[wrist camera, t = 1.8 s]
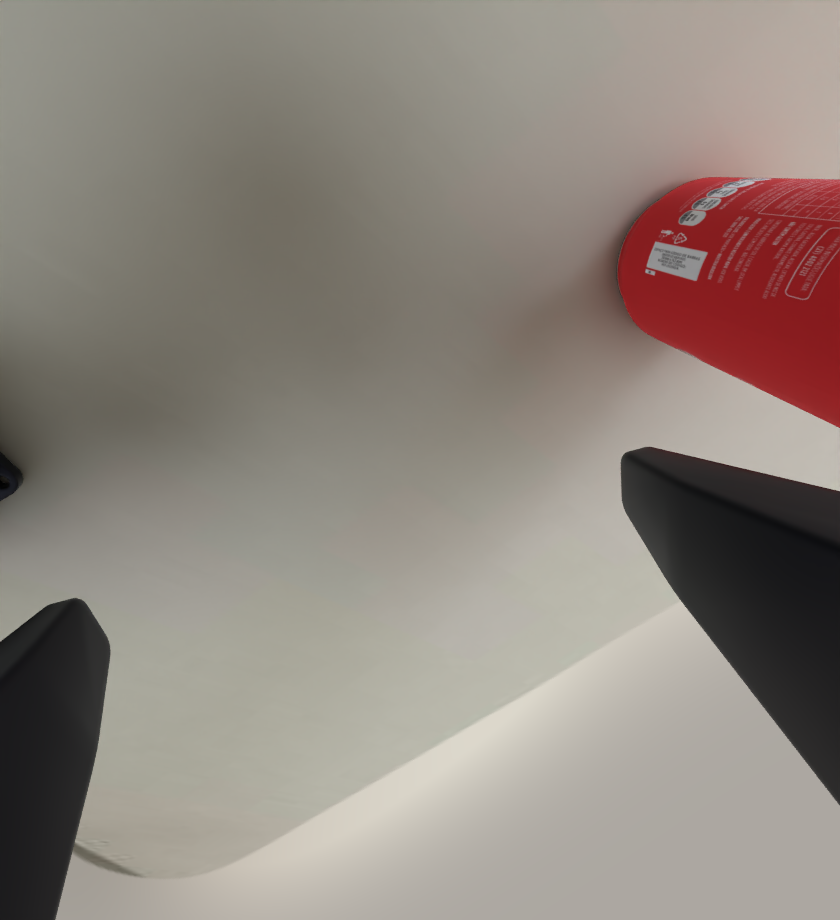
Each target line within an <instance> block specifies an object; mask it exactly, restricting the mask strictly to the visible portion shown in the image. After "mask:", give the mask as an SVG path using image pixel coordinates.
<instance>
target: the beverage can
mask: <svg viewBox="0 0 840 920" xmlns="http://www.w3.org/2000/svg"><path fill="white" fill-rule="evenodd" d="M617 282H618V287H619V291H620V294H621V296H622V299H623V301H624V303H625V306H626V308H627V311H628V313H629V315H630V316H631V318H632V319H633V321H634V322H635V323H636V325H637V326H638V327H639V328H640V329H641V330H643V331H644V332H645V333H647V334H648V335H650V336H652V337H654V338H656V339H658V340H660V341H662V342H664V343H666V344H668V345H670V346H672V347H674V348H676V349H678V350H680V351H682V352H685V353H687V354H689V355H691V356H693V357H695V358H697V359H699V360H701V361H703V362H705V363H707V364H709V365H711V366H713V367H715V368H717V369H720V370H722V371H724V372H726V373H728V374H730V375H732V376H734V377H736V378H738V379H740V380H742V381H744V382H746V383H748V384H750V385H752V386H755V387H757V388H759V389H761V390H763V391H765V392H767V393H769V394H771V395H773V396H775V397H777V398H779V399H781V400H783V401H785V402H788V403H790V404H792V405H794V406H796V407H798V408H800V409H802V410H804V411H806V412H808V413H810V414H812V415H814V416H816V417H818V418H820V419H823V420H825V421H827V422H829V423H831V424H833V425H835V426H837V427H839V428H840V180H830V179H780V178H730V177H709V178H702V179H697V180H694V181H690V182H688V183H685V184H683V185H681V186H679V187H677V188H675V189H674V190H672V191H671V192H669V193H668V194H666V195H665V196H664V197H662V198H661V199H659V200H657V201H656V202H654V203H653V204H652V205H650V206H649V207H648V208H647V209H646V210H644V211H643V212H642V213H641V214H640V216H639V217H638V218H637V219H636V220H635V222H634V223H633V224H632V226H631V227H630V229H629V231H628V233H627V234H626V236H625V238H624V241H623V243H622V246H621V249H620V252H619V256H618V262H617Z"/></svg>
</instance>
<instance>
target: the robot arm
mask: <svg viewBox="0 0 840 920" xmlns="http://www.w3.org/2000/svg"><path fill="white" fill-rule="evenodd" d="M0 476H4V477H6V478H7V479H8V480H9V482H10V483H4V482H2V481H0V501H1V500H3V499H4V498H6V497H8V496H9V495H11V494H13V493H14V492H15V491H16V490H17V489H18V488H19V487H20V486H21V485H22V482H23V475H22V473H21V472H20V470H19V469H18V468H17V467H16V466H15V465H14V464H13V463H11V462H10V461H9V460H8V459H7V458H6V457H5V456H4V455H3V454H2V453H1V452H0ZM621 489H622V503H623V506H624V509H625V512H626V514H627V515H628V517H629V519H630V520H631V522H632V524H633V525H634V527H635V529H636V530H637V532H638V534H639V535H640V537H641V539H642V540H643V542H644V544H645V545H646V547H647V548H648V550H649V552H650V553H651V555H652V557H653V558H654V560H655V562H656V563H657V565H658V567H659V568H660V570H661V572H662V573H663V575H664V577H665V578H666V580H667V581H668V583H669V584H670V586H671V587H672V589H673V590H674V592H675V593H676V594H677V596H678V597H679V599H680V600H681V601H682V603H683V604H684V605H685V607H686V608H687V609H688V610H689V612H690V613H691V614H692V615H693V617H694V618H695V619H696V621H697V622H698V623H699V625H700V626H701V627H702V628H703V629H704V631H705V632H706V633H707V635H708V636H709V637H710V639H711V640H712V641H713V642H714V644H715V645H716V646H717V648H718V649H719V650H720V652H721V653H722V654H723V655H724V657H725V658H726V659H727V661H728V662H729V663H730V664H731V666H732V667H733V668H734V669H735V671H736V672H737V673H738V675H739V676H740V677H741V679H742V680H743V681H744V682H745V684H746V685H747V686H748V688H749V689H750V690H751V692H752V693H753V694H754V695H755V697H756V698H757V699H758V701H759V702H760V703H761V704H762V706H763V707H764V708H765V710H766V711H767V712H768V713H769V715H770V716H771V717H772V719H773V720H774V721H775V722H776V724H777V725H778V726H779V728H780V729H781V730H782V732H783V733H784V734H785V735H786V737H787V738H788V739H789V741H790V742H791V743H792V744H793V746H794V747H795V748H796V750H798V752H799V753H800V755H801V756H802V757H803V758H804V760H805V761H806V762H807V764H808V765H809V766H810V768H811V769H812V770H813V771H814V773H815V774H816V775H817V777H818V778H819V779H820V781H821V782H822V783H823V784H824V786H825V787H826V788H827V790H828V791H829V792H830V793H831V795H832V796H833V797H834V799H835V800H836V801H837V802H838V804H839V805H840V491H836V490H832V489H827V488H823V487H819V486H815V485H810V484H806V483H802V482H798V481H793V480H789V479H785V478H781V477H776V476H772V475H768V474H764V473H759V472H755V471H751V470H747V469H742V468H738V467H734V466H730V465H725V464H721V463H717V462H713V461H708V460H704V459H700V458H696V457H691V456H687V455H683V454H679V453H675V452H670V451H666V450H662V449H658V448H653V447H644V448H640V449H637V450H633V451H629V452H626V453H625V454H624V455H623V456H622V459H621ZM109 661H110V644H109V641H108V638H107V636H106V634H105V633H104V631H103V630H102V628H101V626H100V625H99V623H98V622H97V620H96V618H95V617H94V615H93V614H92V612H91V610H90V609H89V607H88V606H87V604H86V603H85V602H84V601H83V600H81V599H78V598H73V599H68V600H65V601H61V602H57V603H53V604H50V605H48V606H46V607H45V608H43V609H42V610H41V611H39V612H38V613H37V614H36V615H34V616H33V617H32V618H30V619H29V620H28V621H27V622H25V623H24V624H23V625H21V626H20V627H19V628H18V629H16V630H15V631H14V632H12V633H11V634H10V635H9V636H7V637H6V638H5V639H3V640H2V641H1V642H0V920H55V919H56V915H57V911H58V907H59V902H60V899H61V894H62V890H63V887H64V883H65V878H66V875H67V871H68V866H69V862H70V859H71V855H72V851H73V847H74V843H75V839H76V835H77V831H78V827H79V823H80V819H81V815H82V811H83V807H84V803H85V799H86V795H87V791H88V787H89V783H90V779H91V775H92V770H93V766H94V761H95V757H96V752H97V747H98V741H99V735H100V727H101V720H102V713H103V705H104V698H105V690H106V683H107V676H108V668H109Z"/></svg>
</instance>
